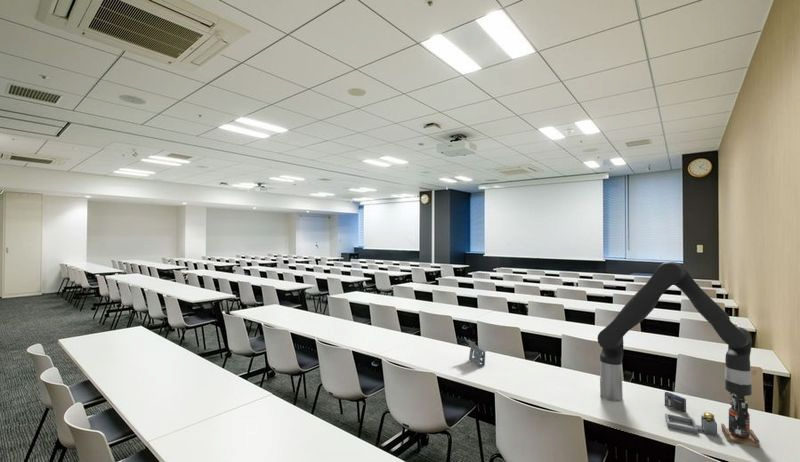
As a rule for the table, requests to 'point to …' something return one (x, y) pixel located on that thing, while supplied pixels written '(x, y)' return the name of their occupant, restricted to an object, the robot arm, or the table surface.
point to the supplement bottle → (733, 424)
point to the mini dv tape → (675, 402)
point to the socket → (705, 427)
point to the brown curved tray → (749, 441)
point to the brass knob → (708, 416)
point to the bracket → (476, 354)
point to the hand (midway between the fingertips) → (738, 423)
